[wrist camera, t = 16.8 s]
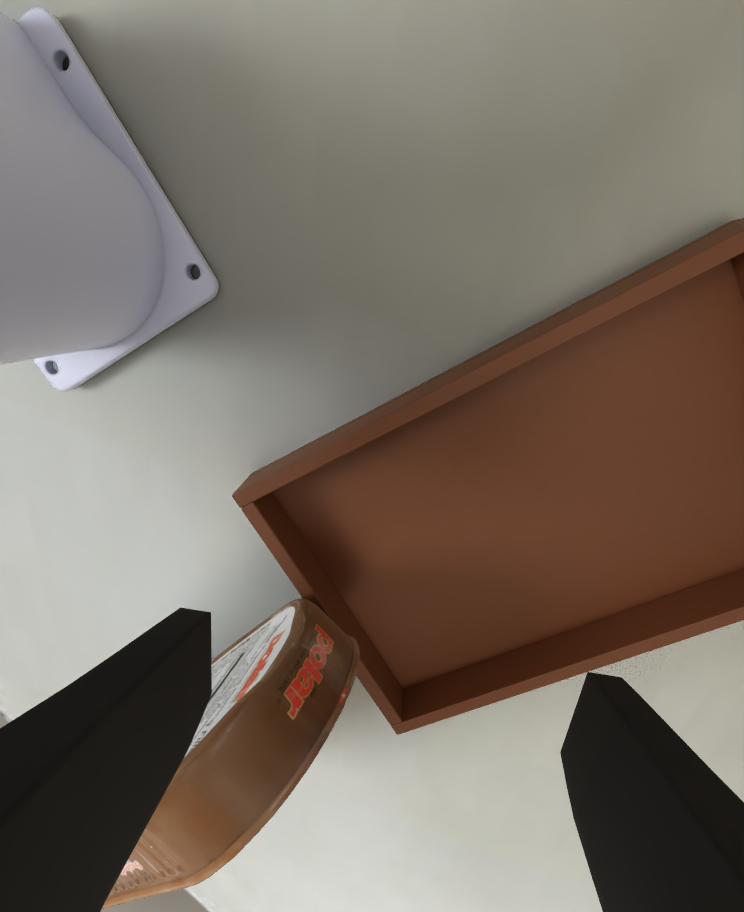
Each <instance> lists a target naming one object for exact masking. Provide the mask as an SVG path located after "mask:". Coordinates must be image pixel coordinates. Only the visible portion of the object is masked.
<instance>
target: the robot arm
mask: <svg viewBox="0 0 744 912" xmlns="http://www.w3.org/2000/svg"><path fill="white" fill-rule="evenodd" d="M66 57H68V58H69V60H70V63H69V67H68V69H67V70H66V71H64V70H63V67H62V66H63V60H64V59H65V58H66ZM194 265H196V266H197V267H198V268H199V270H200V277H199V278H198V279H196V280H195V279H194V278H193V277H192V275H191V268H192V267H193V266H194ZM218 290H219V284H218V281H217V279H216V277H215V275H214V274H213V272H212V270H211V269H210V267H209V265H208V264H207V262H206V261H205V259H204V257H203V256H202V254H201V252H200V251H199V249H198V247H197V246H196V244H195V243H194V241H193V239H192V238H191V236H190V234H189V233H188V231H187V229H186V228H185V226H184V225H183V223H182V221H181V220H180V218H179V216H178V215H177V213H176V211H175V210H174V208H173V207H172V205H171V203H170V202H169V200H168V198H167V197H166V195H165V193H164V192H163V190H162V188H161V187H160V185H159V184H158V182H157V180H156V179H155V177H154V175H153V174H152V172H151V170H150V169H149V167H148V166H147V164H146V162H145V161H144V159H143V157H142V156H141V154H140V152H139V151H138V149H137V148H136V146H135V144H134V143H133V141H132V139H131V138H130V136H129V134H128V133H127V131H126V130H125V128H124V126H123V125H122V123H121V121H120V120H119V118H118V116H117V115H116V113H115V112H114V110H113V108H112V107H111V105H110V103H109V102H108V100H107V98H106V97H105V95H104V94H103V92H102V90H101V89H100V87H99V85H98V84H97V82H96V80H95V79H94V77H93V76H92V74H91V72H90V71H89V69H88V67H87V66H86V64H85V62H84V61H83V59H82V58H81V56H80V54H79V53H78V51H77V49H76V48H75V46H74V44H73V43H72V41H71V40H70V38H69V36H68V35H67V33H66V31H65V30H64V28H63V26H62V25H61V23H60V22H59V20H58V19H57V18H56V17H55V16H54V15H53V14H52V13H50V12H49V11H48V10H46V9H44V8H42V7H34V8H32V9H30V10H29V11H28V12H27V13H26V14H25V15H24V16H23V17H21V18H20V19H19V20H18V21H17V22H15V21H13V20H12V19H10V18H9V17H8V16H6V15H5V14H3V13H2V12H0V364H6V363H12V362H18V361H24V360H30V359H33V360H34V362H35V363H36V364H37V366H38V367H39V368H40V370H41V371H42V372H43V374H44V375H45V376H46V377H47V379H48V380H49V381H50V383H51V384H52V385H53V386H54V387H55V388H56V389H58V390H60V391H69V390H72V389H75V388H76V387H78V386H80V385H81V384H83V383H84V382H86V381H87V380H89V379H90V378H92V377H93V376H95V375H96V374H98V373H99V372H101V371H103V370H104V369H106V368H107V367H109V366H110V365H112V364H113V363H115V362H116V361H118V360H119V359H121V358H123V357H124V356H126V355H127V354H129V353H130V352H132V351H133V350H135V349H136V348H138V347H139V346H141V345H142V344H144V343H146V342H147V341H149V340H150V339H152V338H153V337H155V336H156V335H158V334H159V333H161V332H162V331H164V330H166V329H167V328H169V327H170V326H172V325H173V324H175V323H176V322H178V321H179V320H181V319H182V318H184V317H185V316H187V315H189V314H190V313H192V312H193V311H195V310H196V309H198V308H199V307H201V306H202V305H204V304H205V303H207V302H209V301H210V300H212V299H213V298H214V297H215V296H216V295H217V293H218ZM53 362H55V363H56V364H57V366H58V372H57V371H56V370H54V368H53ZM211 694H212V668H211V612H204V611H198V610H192V609H185V608H180V609H178V610H177V611H175V612H174V613H172V614H171V615H169V616H168V617H166V618H165V619H164V620H162V621H161V622H159V623H158V624H156V625H155V626H154V627H152V628H151V629H149V630H148V631H146V632H145V633H144V634H142V635H141V636H139V637H138V638H136V639H135V640H134V641H132V642H131V643H129V644H128V645H126V646H125V647H124V648H122V649H121V650H119V651H118V652H116V653H115V654H114V655H112V656H111V657H109V658H108V659H106V660H105V661H103V662H102V663H100V664H99V665H98V666H96V667H95V668H93V669H92V670H90V671H89V672H87V673H86V674H84V675H83V676H81V677H80V678H78V679H77V680H75V681H74V682H73V683H71V684H70V685H68V686H67V687H65V688H64V689H62V690H60V691H59V692H57V693H56V694H54V695H52V696H51V697H49V698H48V699H46V700H45V701H43V702H41V703H40V704H38V705H37V706H35V707H34V708H32V709H30V710H29V711H27V712H26V713H24V714H22V715H21V716H19V717H18V718H16V719H15V720H13V721H11V722H10V723H8V724H7V725H5V726H4V727H2V728H0V912H100V911H101V909H102V907H103V905H104V903H105V901H106V899H107V897H108V895H109V893H110V892H111V890H112V888H113V886H114V884H115V883H116V881H117V879H118V877H119V875H120V873H121V872H122V870H123V868H124V866H125V864H126V863H127V861H128V859H129V857H130V855H131V853H132V852H133V850H134V848H135V846H136V844H137V843H138V841H139V839H140V837H141V835H142V834H143V832H144V830H145V828H146V826H147V824H148V823H149V821H150V819H151V817H152V815H153V814H154V812H155V810H156V808H157V806H158V804H159V803H160V801H161V799H162V797H163V795H164V794H165V792H166V790H167V788H168V786H169V784H170V782H171V781H172V779H173V777H174V775H175V773H176V771H177V770H178V768H179V766H180V764H181V762H182V760H183V758H184V757H185V755H186V753H187V751H188V749H189V747H190V744H191V742H192V740H193V737H194V735H195V733H196V731H197V728H198V726H199V724H200V721H201V719H202V716H203V714H204V711H205V709H206V706H207V704H208V702H209V699H210V697H211ZM561 758H562V763H563V768H564V773H565V779H566V784H567V789H568V794H569V798H570V803H571V807H572V812H573V817H574V820H575V823H576V827H577V830H578V833H579V837H580V840H581V843H582V846H583V850H584V853H585V856H586V859H587V862H588V866H589V869H590V872H591V875H592V879H593V882H594V885H595V888H596V891H597V894H598V897H599V901H600V904H601V907H602V910H603V912H744V802H743V801H742V800H741V799H740V798H739V797H738V796H737V795H736V794H735V793H734V792H733V791H732V790H731V789H730V788H729V787H728V786H727V785H726V784H725V783H724V782H723V781H722V780H721V779H720V778H719V777H718V776H717V775H716V774H715V773H714V772H713V771H712V770H711V769H710V768H709V767H708V766H707V765H706V764H705V763H704V762H703V761H702V760H701V759H700V758H699V757H698V756H697V754H696V753H695V752H694V751H693V750H692V749H691V748H690V747H689V746H688V745H687V744H686V743H685V742H684V741H683V740H682V739H681V738H680V737H679V736H678V735H677V734H676V733H675V732H674V731H673V730H672V728H671V727H670V726H669V725H668V724H667V723H666V722H665V721H664V720H663V719H662V718H661V717H660V716H659V715H658V714H657V713H656V712H655V711H654V710H653V709H652V708H651V707H650V706H649V705H648V703H647V702H646V701H645V700H644V699H643V698H642V697H641V696H640V695H639V694H638V693H637V692H636V691H635V690H634V689H633V688H632V687H631V686H630V685H629V684H628V683H627V682H626V681H625V680H624V679H623V678H621V677H615V676H609V675H602V674H596V673H590V672H588V673H587V676H586V679H585V682H584V685H583V688H582V691H581V694H580V696H579V699H578V702H577V705H576V708H575V711H574V714H573V717H572V720H571V723H570V726H569V729H568V732H567V735H566V738H565V741H564V743H563V746H562V749H561Z"/></svg>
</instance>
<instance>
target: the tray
mask: <svg viewBox="0 0 744 912" xmlns="http://www.w3.org/2000/svg"><path fill="white" fill-rule="evenodd" d="M232 497H233V498H234V500H235V501H236V503H237V504H238V505H239V507H240V508H241V507H242V508H241V509H242V511H243V512H244V514H245V515H246V517H247V518H248V520H249V521H250V522H251V524H252V525H253V527H254V528H255V530H256V531H257V533H258V534H259V535H260V537H261V538H262V540H263V541H264V543H265V544H266V546H267V547H268V548H269V550H270V551H271V553H272V554H273V556H274V557H275V559H276V560H277V561H278V563H279V564H280V566H281V567H282V569H283V570H284V572H285V573H286V574H287V576H288V577H289V579H290V580H291V582H292V583H293V585H294V586H295V587H296V589H297V590H298V592H299V593H300V595H301V596H302V598H303V599H307V600H309V601H311V602H312V603H314V604H315V605H316V606H317V607H319V608H320V609H321V610H322V611H323V612H324V613H325V614H326V615H327V616H328V617H329V618H330V619H331V620H332V621H333V622H334V623H335V624H336V625H337V626H338V627H339V628H340V629H341V630H342V631H343V632H344V633H345V634H346V635H349V636H352V637H353V638H354V639H355V640H356V641H357V644H358V646H359V653H360V656H359V663H358V668H357V673H356V676H357V677H358V679H359V680H360V681H361V683H362V684H363V686H364V687H365V689H366V690H367V692H368V693H369V694H370V696H371V697H372V699H373V700H374V702H375V703H376V705H377V706H378V707H379V709H380V710H381V712H382V713H383V715H384V716H385V718H386V719H387V720H388V722H389V723H390V725H391V726H392V728H393V729H394V731H395V732H396V734H401V733H404V732H407V731H410V730H413V729H416V728H419V727H422V726H425V725H428V724H431V723H434V722H437V721H440V720H443V719H446V718H449V717H452V716H455V715H458V714H461V713H464V712H467V711H470V710H473V709H476V708H479V707H482V706H486V705H489V704H492V703H495V702H498V701H501V700H504V699H507V698H510V697H513V696H516V695H519V694H522V693H525V692H528V691H531V690H534V689H537V688H540V687H543V686H546V685H549V684H552V683H555V682H558V681H561V680H564V679H567V678H570V677H573V676H576V675H579V674H582V673H585V672H588V671H591V670H594V669H597V668H600V667H603V666H606V665H609V664H612V663H615V662H618V661H621V660H624V659H627V658H630V657H633V656H636V655H639V654H642V653H645V652H648V651H651V650H654V649H657V648H660V647H663V646H666V645H669V644H672V643H675V642H678V641H681V640H684V639H687V638H690V637H693V636H696V635H699V634H702V633H705V632H708V631H711V630H714V629H717V628H720V627H723V626H726V625H730V624H733V623H736V622H739V621H742V620H744V218H743V219H738V220H734V221H731V222H729V223H727V224H725V225H723V226H722V227H720V228H718V229H716V230H714V231H712V232H710V233H708V234H706V235H704V236H703V237H701V238H699V239H697V240H695V241H693V242H691V243H689V244H687V245H685V246H683V247H682V248H680V249H678V250H676V251H674V252H672V253H670V254H668V255H666V256H664V257H663V258H661V259H659V260H657V261H655V262H653V263H651V264H649V265H647V266H645V267H644V268H642V269H640V270H638V271H636V272H634V273H632V274H630V275H628V276H626V277H625V278H623V279H621V280H619V281H617V282H615V283H613V284H611V285H609V286H607V287H606V288H604V289H602V290H600V291H598V292H596V293H594V294H592V295H590V296H588V297H586V298H585V299H583V300H581V301H579V302H577V303H575V304H573V305H571V306H569V307H567V308H566V309H564V310H562V311H560V312H558V313H556V314H554V315H552V316H550V317H548V318H547V319H545V320H543V321H541V322H539V323H537V324H535V325H533V326H531V327H529V328H528V329H526V330H524V331H522V332H520V333H518V334H516V335H514V336H512V337H510V338H509V339H507V340H505V341H503V342H501V343H499V344H497V345H495V346H493V347H491V348H490V349H488V350H486V351H484V352H482V353H480V354H478V355H476V356H474V357H472V358H470V359H469V360H467V361H465V362H463V363H461V364H459V365H457V366H455V367H453V368H451V369H450V370H448V371H446V372H444V373H442V374H440V375H438V376H436V377H434V378H432V379H431V380H429V381H427V382H425V383H423V384H421V385H419V386H417V387H415V388H413V389H412V390H410V391H408V392H406V393H404V394H402V395H400V396H398V397H396V398H394V399H393V400H391V401H389V402H387V403H385V404H383V405H381V406H379V407H377V408H375V409H374V410H372V411H370V412H368V413H366V414H364V415H362V416H360V417H358V418H356V419H354V420H353V421H351V422H349V423H347V424H345V425H343V426H341V427H339V428H337V429H335V430H334V431H332V432H330V433H328V434H326V435H324V436H322V437H320V438H318V439H316V440H315V441H313V442H311V443H309V444H307V445H305V446H303V447H301V448H299V449H297V450H296V451H294V452H292V453H290V454H288V455H286V456H284V457H282V458H280V459H278V460H277V461H275V462H273V463H271V464H269V465H267V466H265V467H263V468H261V469H259V470H257V471H256V472H254V473H252V474H251V475H250V476H249V477H248V478H247V479H246V480H245V481H244V482H243V484H242V485H241V486H240V487H239V488H238V489H237V490H236V491H235V492H234V494H233V495H232Z"/></svg>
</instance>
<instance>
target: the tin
mask: <svg viewBox="0 0 744 912" xmlns="http://www.w3.org/2000/svg"><path fill="white" fill-rule="evenodd" d="M359 656H360V653H359V646H358V644H357V641H356V640H355V639H354V638H353V637H352V636H349V635H346V634H345V633H344V632H343V631H342V630H341V629H340V628H339V627H338V626H337V625H336V624H335V623H334V622H333V621H332V620H331V619H330V618H329V617H328V616H327V615H326V614H325V613H324V612H323V611H322V610H321V609H320V608H319V607H317V606H316V605H315V604H314V603H312V602H311V601H309V600H307V599H297V600H294V601H292V602H290V603H288V604H286V605H285V606H283V607H282V608H281V609H279V610H278V611H277V612H275V613H274V614H273V615H271V616H270V617H269V618H267V619H266V620H265V621H263V622H262V623H261V624H259V625H258V626H257V627H255V628H254V629H253V630H251V631H250V632H249V633H247V634H246V635H245V636H243V637H242V638H241V639H239V640H238V641H237V642H235V643H234V644H233V645H232V646H230V647H229V648H228V649H226V650H225V651H224V652H223V653H221V654H220V655H219V656H218V657H216V658H215V659H214V660H213V661H211V668H212V694H211V697H210V699H209V702H208V704H207V706H206V709H205V711H204V714H203V716H202V719H201V721H200V724H199V726H198V728H197V731H196V733H195V735H194V737H193V740H192V742H191V744H190V747H189V749H188V751H187V753H186V755H185V757H184V758H183V760H182V762H181V764H180V766H179V768H178V770H177V771H176V773H175V775H174V777H173V779H172V781H171V782H170V784H169V786H168V788H167V790H166V792H165V794H164V795H163V797H162V799H161V801H160V803H159V804H158V806H157V808H156V810H155V812H154V814H153V815H152V817H151V819H150V821H149V823H148V824H147V826H146V828H145V830H144V832H143V834H142V835H141V837H140V839H139V841H138V843H137V844H136V846H135V848H134V850H133V852H132V853H131V855H130V857H129V859H128V861H127V863H126V864H125V866H124V868H123V870H122V872H121V873H120V875H119V877H118V879H117V881H116V883H115V884H114V886H113V888H112V890H111V892H110V893H109V895H108V897H107V899H106V901H105V903H104V905H103V907H102V909H104V908H107V907H111V906H114V905H120V904H123V903H126V902H130V901H134V900H137V899H140V898H145V897H149V896H152V895H157V894H162V893H165V892H169V891H175V890H179V889H183V888H187V887H190V886H193V885H196V884H198V883H200V882H202V881H204V880H205V879H207V878H209V877H210V876H212V875H213V874H214V873H215V872H217V871H218V870H219V869H220V868H221V867H223V866H224V865H225V864H226V863H228V862H229V861H230V860H231V859H233V858H234V857H235V856H236V855H237V854H238V853H239V852H240V851H241V850H242V849H243V848H244V846H245V845H246V844H247V843H249V842H250V841H251V839H252V838H253V837H254V836H255V835H256V834H257V833H258V832H259V831H260V830H261V828H262V827H263V826H264V825H265V824H266V823H267V822H268V821H269V820H270V819H271V818H272V817H273V815H274V814H275V813H276V812H277V810H278V809H279V808H280V806H281V805H282V804H283V803H284V801H285V800H286V799H287V798H288V796H289V795H290V794H291V792H292V791H293V789H294V788H295V787H296V785H297V784H298V782H299V781H300V780H301V778H302V777H303V775H304V774H305V773H306V771H307V770H308V768H309V767H310V765H311V764H312V762H313V761H314V759H315V757H316V756H317V754H318V753H319V751H320V749H321V747H322V746H323V744H324V742H325V741H326V739H327V737H328V735H329V733H330V731H332V728H333V727H334V724H335V722H336V721H337V719H338V717H339V716H340V714H341V712H342V709H343V707H344V705H345V702H346V699H347V697H348V695H349V693H350V691H351V688H352V686H353V683H354V680H355V677H356V673H357V668H358V663H359Z"/></svg>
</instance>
